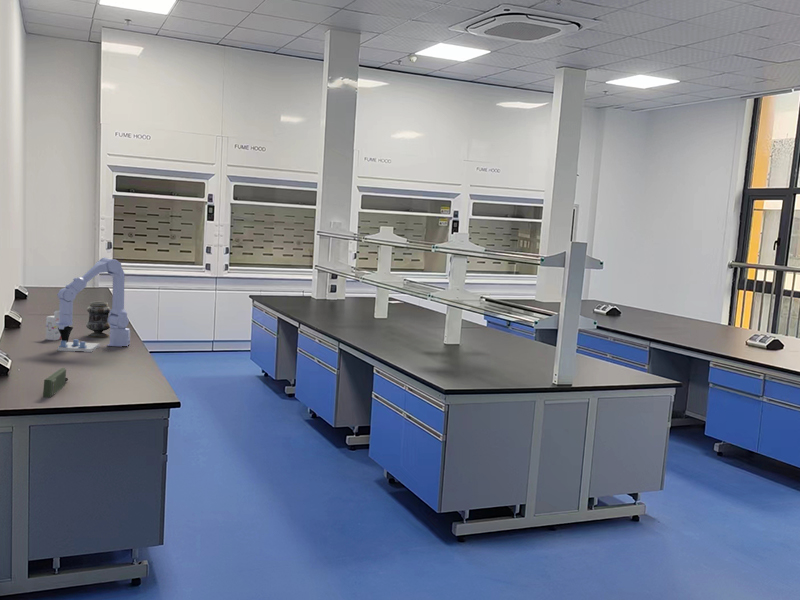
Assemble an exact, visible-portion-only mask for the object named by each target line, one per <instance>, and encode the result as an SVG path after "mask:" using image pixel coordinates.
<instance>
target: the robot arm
mask: <svg viewBox="0 0 800 600" xmlns="http://www.w3.org/2000/svg"><path fill="white" fill-rule="evenodd" d="M100 273H101V274H103V273H107V274H108V275H110V276H111V277H112V296H111V297H112V303H111V305H112V306H111V310H110V313H109V314H108V323H109V324H110V328H109V343H107V345H106V346H108V347H122V346H127V347H129V346H130V345H131V329H130V328H127V327H128V325H129V322H130V321H129V317H128V312H127V311H126V309H125V280H126V279H125V271H124V269H123V267H122V263H121V261H119V260H117V259H115V258H114V259H113V258H108V257H102V258H100V259H99V260H98V261H96V262H95V264H94V265H93V266H92V267H91V268H90V269H89V270H87V272H85V274H84V275H83V276H81V277H80V276H79V277H74V278H73V279H72V281H71V282H70V283H69V284H66V285H65V287H62V288H61V289H60V290H58V293H57V294H56V295H57V298H58V300H59V307H58V309H59V310H58V311H59V313H58V314H59V322H57V323H56V324H58V325H59V328H58V330H59V332H60V334H61V339H60V340H61V341H62V340H63V341H66V343H67V342H69V340H70V335H71V333H72V330H73V329H74V327H73V324H74V323H73V316H74V315H73V312H74V300H75V299H76V297H77V295H78V294H79V293H80V292H81V291H83V290H84V289H85V288H86V287H87V283H89V282H90V281H91V280H92V279H94V278H95V277H96V276H98V275H99V274H100ZM129 344H130V345H129ZM128 345H129V346H128Z"/></svg>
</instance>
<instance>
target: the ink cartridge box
mask: <svg viewBox="0 0 800 600" xmlns="http://www.w3.org/2000/svg"><path fill="white" fill-rule="evenodd" d="M53 314H54V315H48V316H46V317H45V340H49V341H56V340H62V339H61V334H60V332H59V330H58V328H59V325H58V324H56V323H57V322H59V310H56V311H54V312H53Z"/></svg>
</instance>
